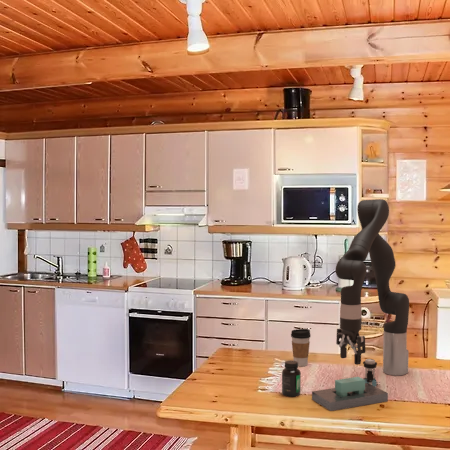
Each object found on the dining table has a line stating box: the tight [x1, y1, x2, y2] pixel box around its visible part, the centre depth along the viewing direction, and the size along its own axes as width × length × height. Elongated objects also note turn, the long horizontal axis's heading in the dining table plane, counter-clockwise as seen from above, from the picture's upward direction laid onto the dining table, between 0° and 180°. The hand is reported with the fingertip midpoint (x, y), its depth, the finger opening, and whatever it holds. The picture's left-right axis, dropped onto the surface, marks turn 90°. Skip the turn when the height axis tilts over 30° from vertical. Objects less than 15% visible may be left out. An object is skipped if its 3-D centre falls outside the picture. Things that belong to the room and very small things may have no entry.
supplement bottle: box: [281, 360, 302, 398], centre depth 215 cm, size 7×7×12 cm
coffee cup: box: [290, 328, 311, 367], centre depth 252 cm, size 8×8×15 cm
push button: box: [362, 358, 381, 387], centre depth 224 cm, size 7×5×10 cm
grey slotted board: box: [311, 383, 389, 412], centre depth 209 cm, size 24×12×3 cm, turn 113°
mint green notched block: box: [334, 376, 365, 397], centre depth 209 cm, size 10×4×8 cm, turn 113°
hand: (350, 361), depth 208 cm, fingers open, 8 cm apart
